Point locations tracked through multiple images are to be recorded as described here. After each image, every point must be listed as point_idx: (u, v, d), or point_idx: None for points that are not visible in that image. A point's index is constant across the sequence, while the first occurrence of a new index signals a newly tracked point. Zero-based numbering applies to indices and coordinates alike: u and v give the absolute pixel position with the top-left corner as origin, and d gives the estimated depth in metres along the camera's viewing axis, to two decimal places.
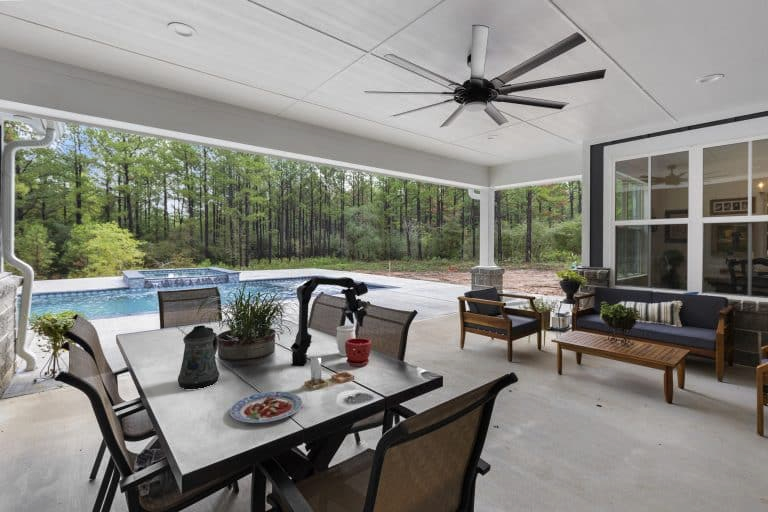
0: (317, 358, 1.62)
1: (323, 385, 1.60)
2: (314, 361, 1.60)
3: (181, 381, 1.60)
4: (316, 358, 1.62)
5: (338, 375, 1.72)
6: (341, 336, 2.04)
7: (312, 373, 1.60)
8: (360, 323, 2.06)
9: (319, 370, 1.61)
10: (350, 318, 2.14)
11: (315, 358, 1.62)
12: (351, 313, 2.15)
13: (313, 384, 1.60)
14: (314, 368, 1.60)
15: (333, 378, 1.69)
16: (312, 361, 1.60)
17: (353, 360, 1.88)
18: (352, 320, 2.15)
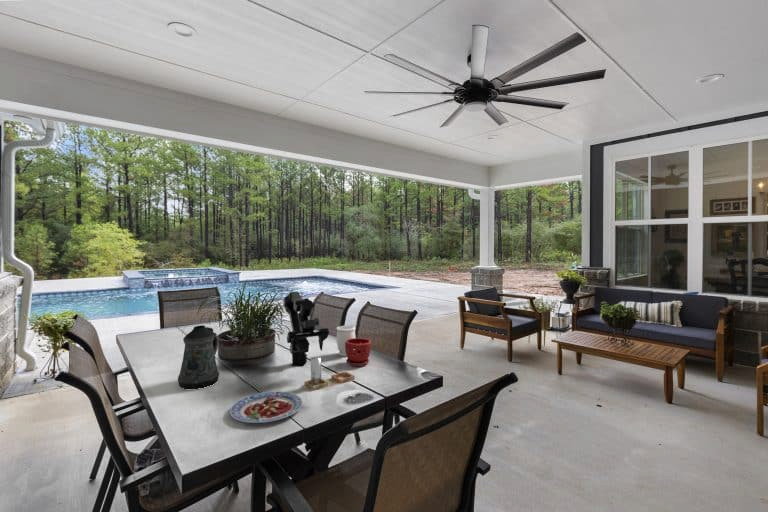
0: (317, 358, 1.62)
1: (323, 385, 1.60)
2: (314, 361, 1.60)
3: (181, 381, 1.60)
4: (316, 358, 1.62)
5: (338, 375, 1.72)
6: (341, 336, 2.04)
7: (312, 373, 1.60)
8: (298, 348, 1.68)
9: (319, 370, 1.61)
10: (320, 343, 1.74)
11: (315, 358, 1.62)
12: (320, 337, 1.74)
13: (313, 384, 1.60)
14: (313, 367, 1.60)
15: (333, 378, 1.69)
16: (312, 361, 1.60)
17: (353, 360, 1.88)
18: (320, 346, 1.72)
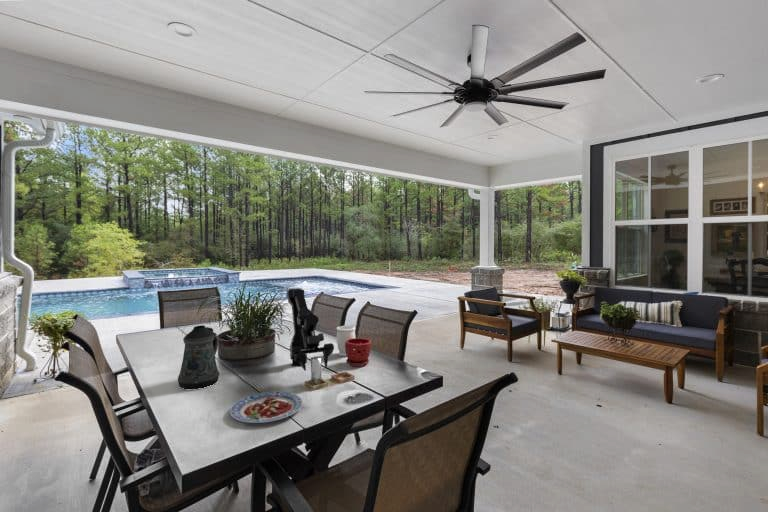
0: (317, 358, 1.62)
1: (323, 385, 1.60)
2: (314, 361, 1.60)
3: (181, 381, 1.60)
4: (316, 358, 1.62)
5: (338, 375, 1.72)
6: (341, 336, 2.04)
7: (312, 373, 1.60)
8: (302, 365, 1.62)
9: (319, 370, 1.61)
10: (324, 360, 1.67)
11: (315, 358, 1.62)
12: (324, 353, 1.67)
13: (313, 384, 1.60)
14: (314, 368, 1.60)
15: (333, 378, 1.69)
16: (312, 361, 1.60)
17: (353, 360, 1.88)
18: (325, 362, 1.65)
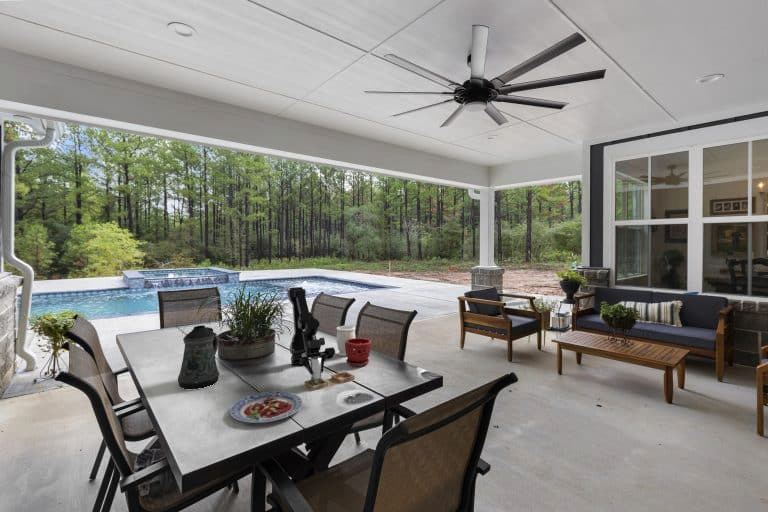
0: (317, 358, 1.62)
1: (323, 385, 1.60)
2: (314, 361, 1.60)
3: (181, 381, 1.60)
4: (316, 358, 1.62)
5: (338, 375, 1.72)
6: (341, 336, 2.04)
7: (312, 373, 1.60)
8: (308, 369, 1.61)
9: (319, 370, 1.61)
10: None
11: (315, 358, 1.62)
12: None
13: (313, 384, 1.60)
14: (314, 367, 1.60)
15: (333, 378, 1.69)
16: (312, 361, 1.60)
17: (353, 360, 1.88)
18: (321, 368, 1.63)
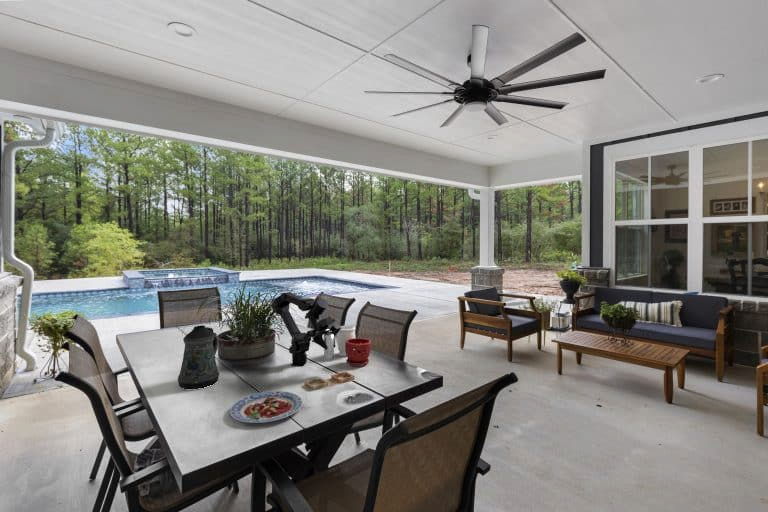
0: (330, 334, 1.75)
1: (323, 385, 1.60)
2: (329, 337, 1.73)
3: (181, 381, 1.60)
4: (329, 334, 1.75)
5: (338, 375, 1.72)
6: (341, 336, 2.04)
7: None
8: (322, 345, 1.74)
9: (333, 345, 1.75)
10: None
11: (328, 334, 1.75)
12: None
13: (328, 358, 1.74)
14: (329, 343, 1.73)
15: (333, 378, 1.69)
16: (327, 337, 1.73)
17: (353, 360, 1.88)
18: None
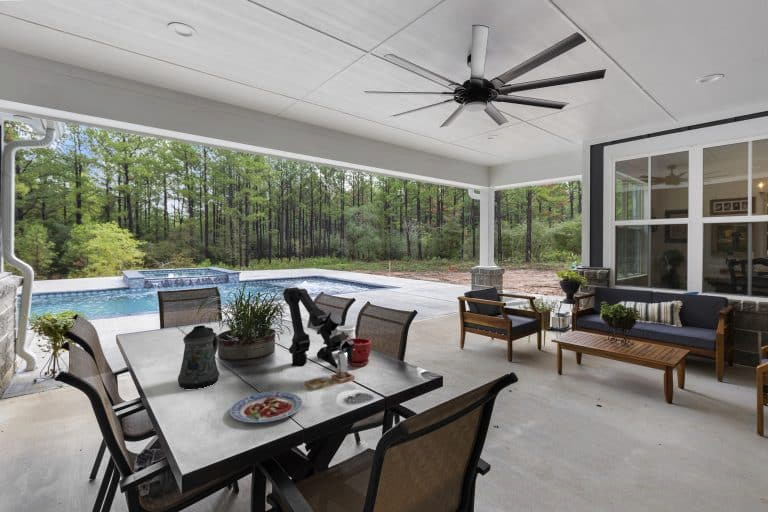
0: (344, 352, 1.70)
1: (323, 385, 1.60)
2: (343, 355, 1.67)
3: (181, 381, 1.60)
4: (343, 352, 1.69)
5: None
6: None
7: (340, 367, 1.68)
8: (332, 364, 1.66)
9: None
10: (347, 356, 1.74)
11: (342, 353, 1.69)
12: (347, 350, 1.75)
13: (342, 377, 1.68)
14: (342, 362, 1.67)
15: (333, 378, 1.69)
16: (341, 356, 1.67)
17: (353, 360, 1.88)
18: (350, 358, 1.73)
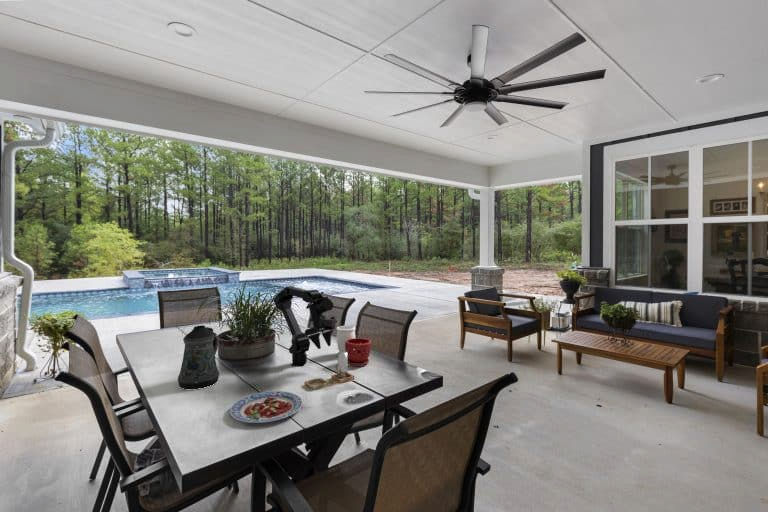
0: (344, 352, 1.70)
1: (323, 385, 1.60)
2: (343, 355, 1.67)
3: (181, 381, 1.60)
4: (343, 352, 1.69)
5: None
6: (341, 336, 2.04)
7: (340, 367, 1.68)
8: (316, 344, 1.75)
9: (347, 363, 1.69)
10: (326, 338, 1.85)
11: (342, 353, 1.69)
12: (328, 333, 1.85)
13: (342, 377, 1.68)
14: (343, 362, 1.67)
15: (333, 378, 1.69)
16: (341, 356, 1.67)
17: (353, 360, 1.88)
18: (328, 341, 1.84)
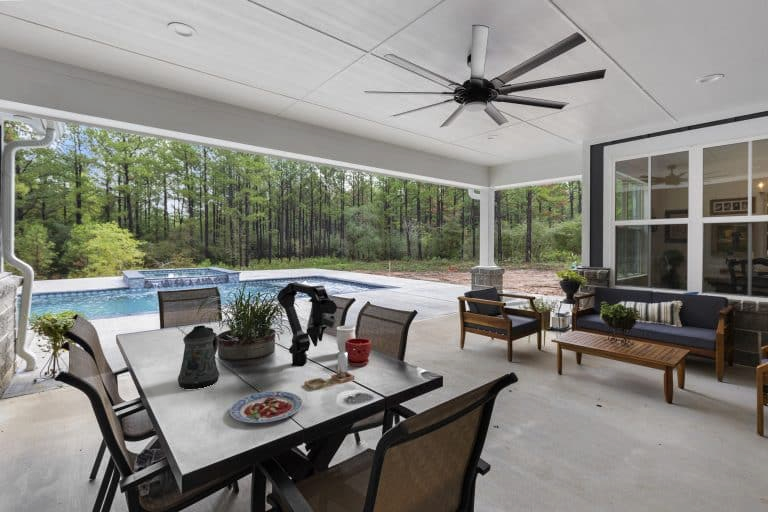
0: (344, 352, 1.70)
1: (323, 385, 1.60)
2: (343, 355, 1.67)
3: (181, 381, 1.60)
4: (343, 352, 1.69)
5: None
6: (341, 336, 2.04)
7: (340, 367, 1.68)
8: (313, 341, 1.77)
9: (347, 363, 1.69)
10: None
11: (342, 353, 1.69)
12: (321, 329, 1.88)
13: (342, 377, 1.68)
14: (343, 362, 1.67)
15: (333, 378, 1.69)
16: (341, 356, 1.67)
17: (353, 360, 1.88)
18: (320, 337, 1.87)
